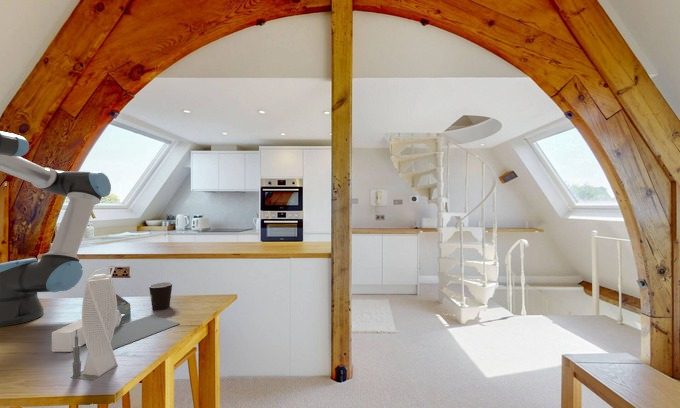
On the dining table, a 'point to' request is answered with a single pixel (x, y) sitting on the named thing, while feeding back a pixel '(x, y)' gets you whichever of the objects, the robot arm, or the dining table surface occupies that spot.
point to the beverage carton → (123, 307)
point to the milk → (72, 335)
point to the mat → (139, 330)
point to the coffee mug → (160, 295)
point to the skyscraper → (97, 327)
